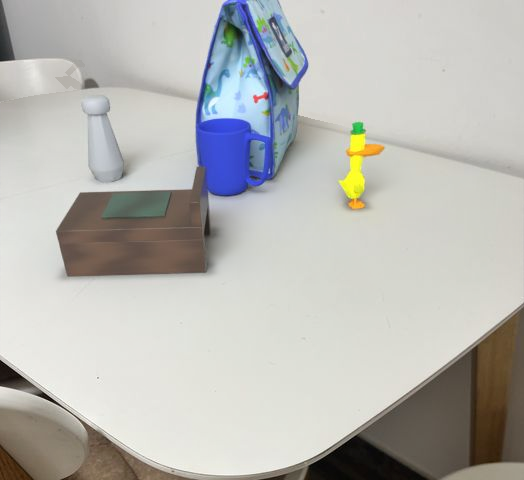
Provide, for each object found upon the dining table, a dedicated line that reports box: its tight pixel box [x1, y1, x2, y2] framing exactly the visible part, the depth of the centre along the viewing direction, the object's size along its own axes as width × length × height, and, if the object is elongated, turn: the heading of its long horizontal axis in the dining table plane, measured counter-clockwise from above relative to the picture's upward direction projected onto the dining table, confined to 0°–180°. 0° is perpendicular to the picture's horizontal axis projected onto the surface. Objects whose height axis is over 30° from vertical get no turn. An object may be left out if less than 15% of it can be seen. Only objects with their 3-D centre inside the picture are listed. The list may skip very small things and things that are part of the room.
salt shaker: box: [81, 94, 125, 183], centre depth 93 cm, size 6×6×13 cm
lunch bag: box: [195, 0, 309, 181], centre depth 95 cm, size 22×17×26 cm
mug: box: [195, 118, 272, 197], centre depth 87 cm, size 8×12×10 cm
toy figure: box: [337, 121, 386, 210], centre depth 81 cm, size 7×4×12 cm, turn 106°
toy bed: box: [55, 166, 212, 277], centre depth 72 cm, size 17×12×9 cm
